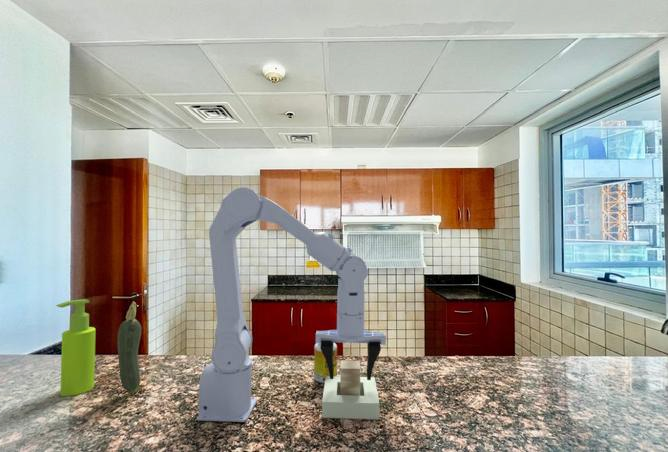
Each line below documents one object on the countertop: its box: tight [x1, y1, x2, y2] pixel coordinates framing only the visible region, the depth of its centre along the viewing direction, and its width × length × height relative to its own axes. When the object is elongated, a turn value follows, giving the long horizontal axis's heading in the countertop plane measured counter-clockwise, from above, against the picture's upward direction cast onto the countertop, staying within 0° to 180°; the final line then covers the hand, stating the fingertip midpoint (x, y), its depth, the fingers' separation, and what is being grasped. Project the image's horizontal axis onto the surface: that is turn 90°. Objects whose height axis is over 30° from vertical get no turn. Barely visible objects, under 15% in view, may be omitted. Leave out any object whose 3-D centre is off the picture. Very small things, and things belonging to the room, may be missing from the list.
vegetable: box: [116, 300, 142, 394], centre depth 69 cm, size 4×4×20 cm
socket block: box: [321, 375, 381, 420], centre depth 65 cm, size 11×11×3 cm
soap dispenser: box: [56, 298, 96, 397], centre depth 70 cm, size 6×7×20 cm
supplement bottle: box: [313, 342, 338, 384], centre depth 77 cm, size 6×6×10 cm
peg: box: [339, 359, 361, 396], centre depth 65 cm, size 4×4×8 cm
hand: (350, 377), depth 65 cm, fingers open, 7 cm apart
